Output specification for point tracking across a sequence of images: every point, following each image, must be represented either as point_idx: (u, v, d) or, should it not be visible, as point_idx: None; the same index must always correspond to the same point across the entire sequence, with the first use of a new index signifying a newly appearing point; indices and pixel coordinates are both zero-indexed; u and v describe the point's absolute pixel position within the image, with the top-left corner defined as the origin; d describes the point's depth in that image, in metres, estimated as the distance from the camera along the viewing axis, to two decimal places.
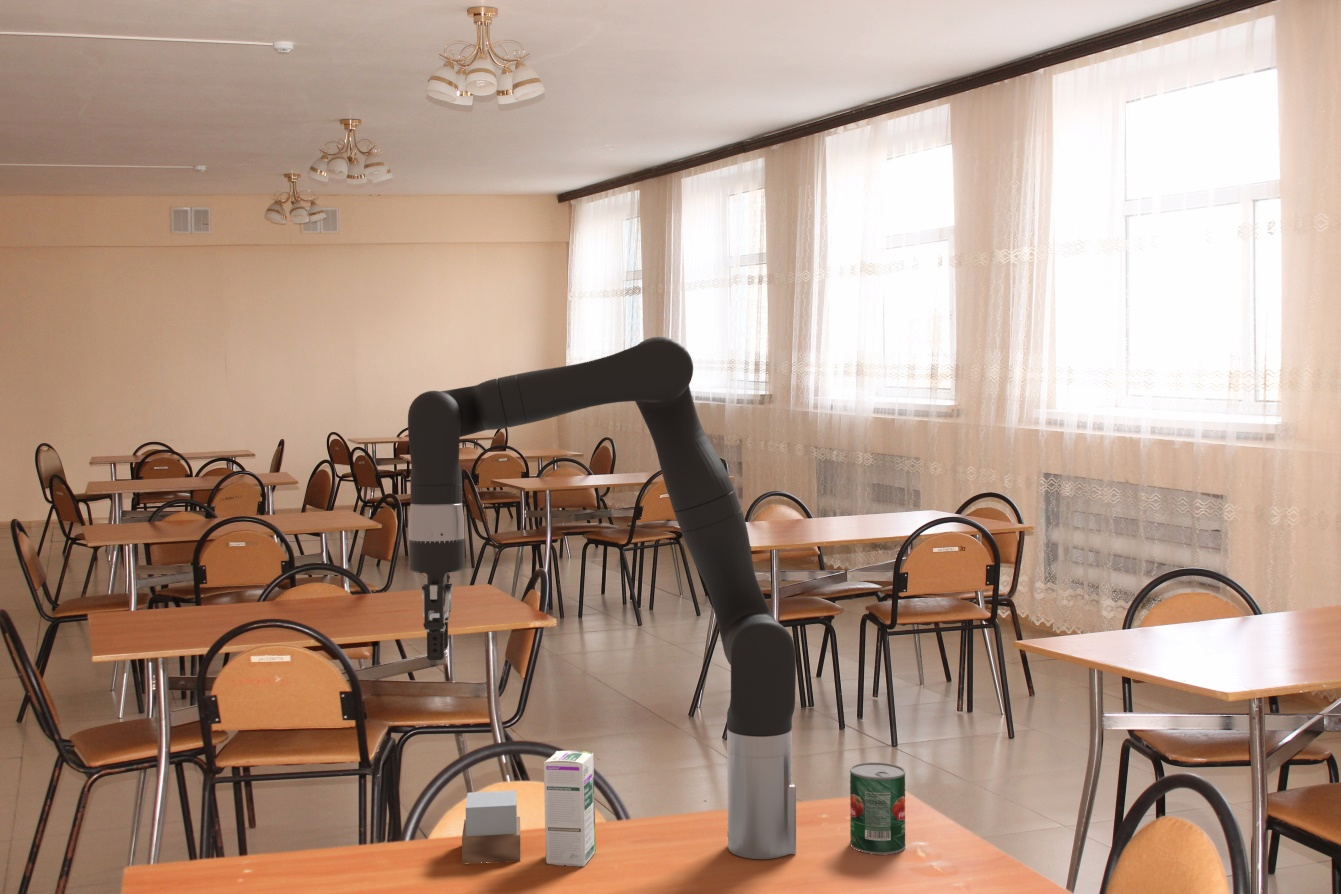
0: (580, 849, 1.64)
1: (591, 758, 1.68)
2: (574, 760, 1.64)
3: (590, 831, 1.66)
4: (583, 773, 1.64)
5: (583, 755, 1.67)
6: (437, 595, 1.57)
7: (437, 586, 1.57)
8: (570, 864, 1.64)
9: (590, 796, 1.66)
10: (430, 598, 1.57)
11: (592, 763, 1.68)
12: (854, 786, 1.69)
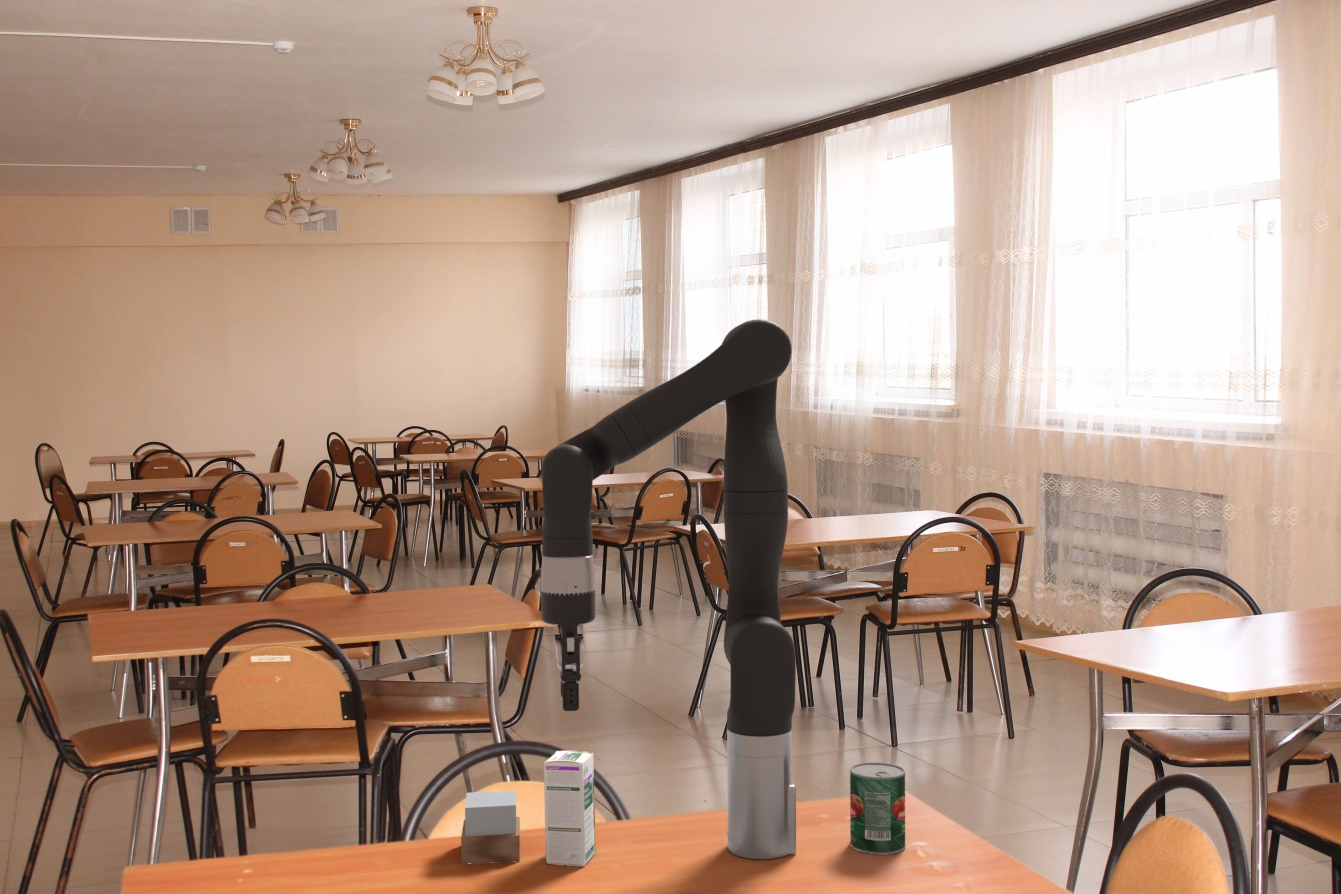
0: (580, 849, 1.64)
1: (591, 758, 1.68)
2: (574, 760, 1.64)
3: (590, 831, 1.66)
4: (583, 773, 1.64)
5: (583, 755, 1.67)
6: (574, 647, 1.60)
7: (574, 639, 1.60)
8: (570, 864, 1.64)
9: (590, 796, 1.66)
10: (567, 651, 1.59)
11: (592, 763, 1.68)
12: (854, 786, 1.69)
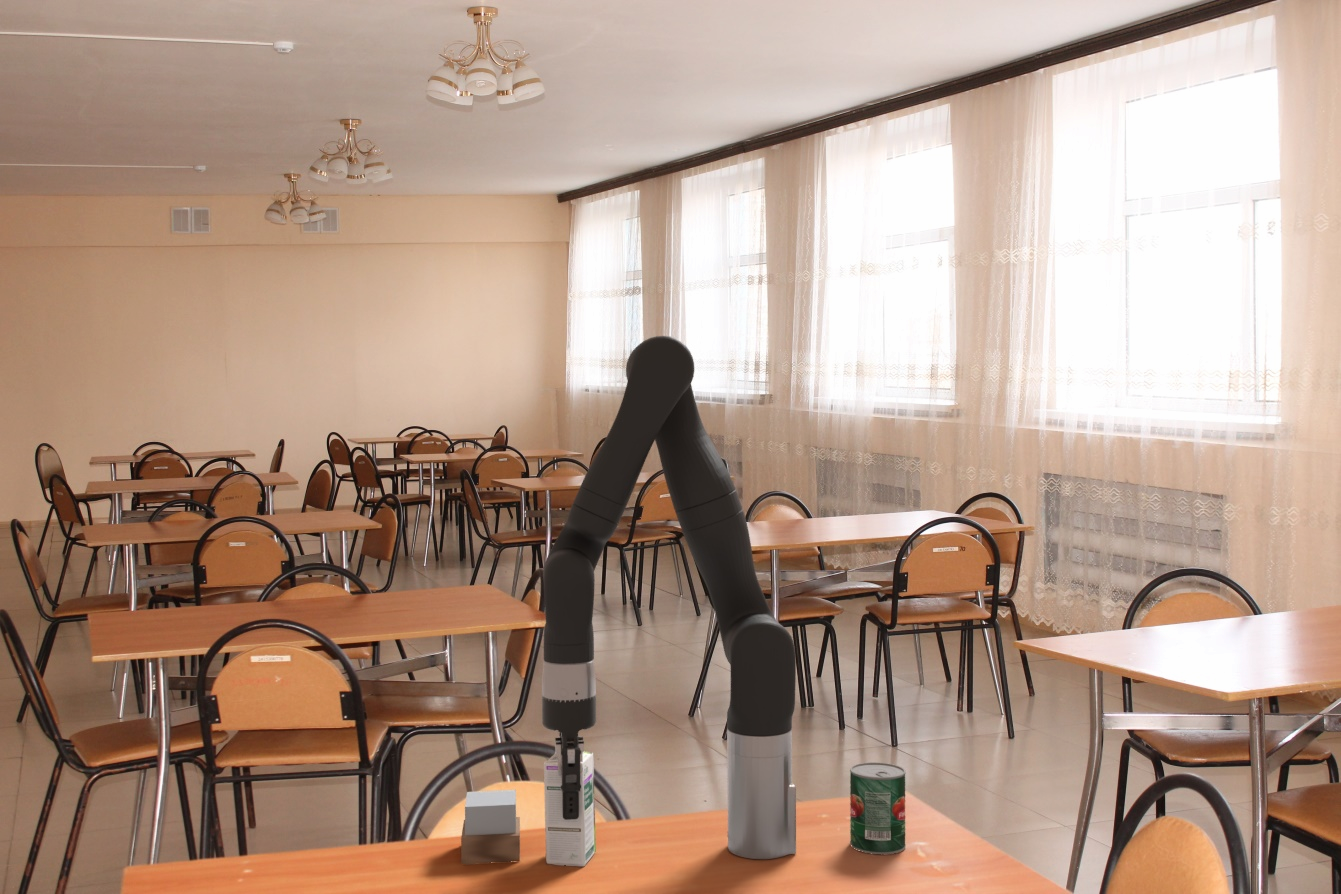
0: (580, 849, 1.64)
1: (591, 758, 1.68)
2: None
3: (590, 831, 1.66)
4: (584, 773, 1.64)
5: (583, 755, 1.67)
6: (575, 760, 1.60)
7: (574, 751, 1.60)
8: (570, 864, 1.64)
9: (590, 796, 1.66)
10: (568, 762, 1.60)
11: (592, 763, 1.68)
12: (854, 786, 1.69)
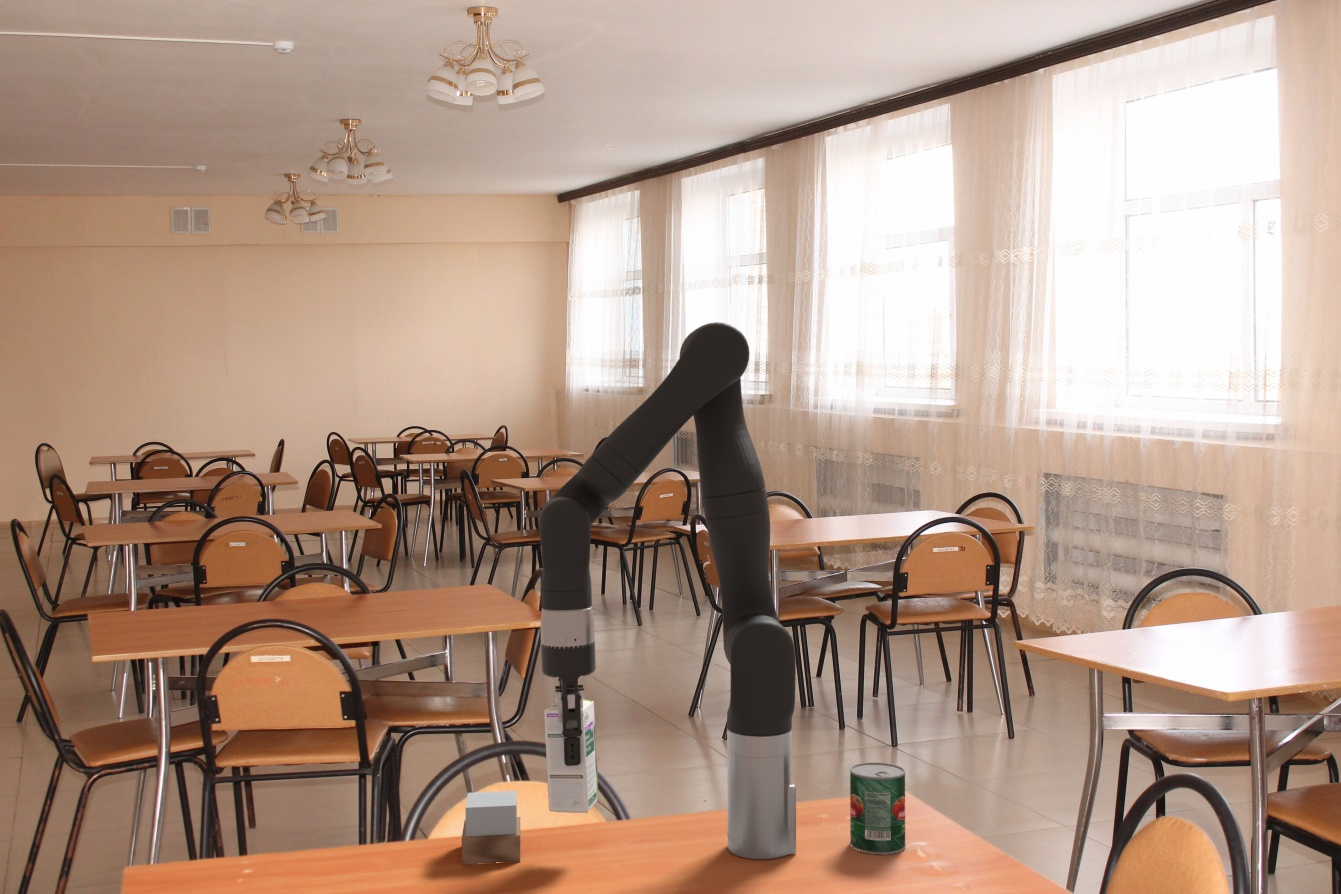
0: (583, 796, 1.63)
1: (591, 706, 1.67)
2: None
3: (592, 778, 1.66)
4: (584, 719, 1.64)
5: (583, 703, 1.67)
6: (575, 705, 1.60)
7: (574, 696, 1.60)
8: (573, 811, 1.64)
9: (591, 743, 1.66)
10: (568, 708, 1.60)
11: (593, 711, 1.68)
12: (854, 786, 1.69)
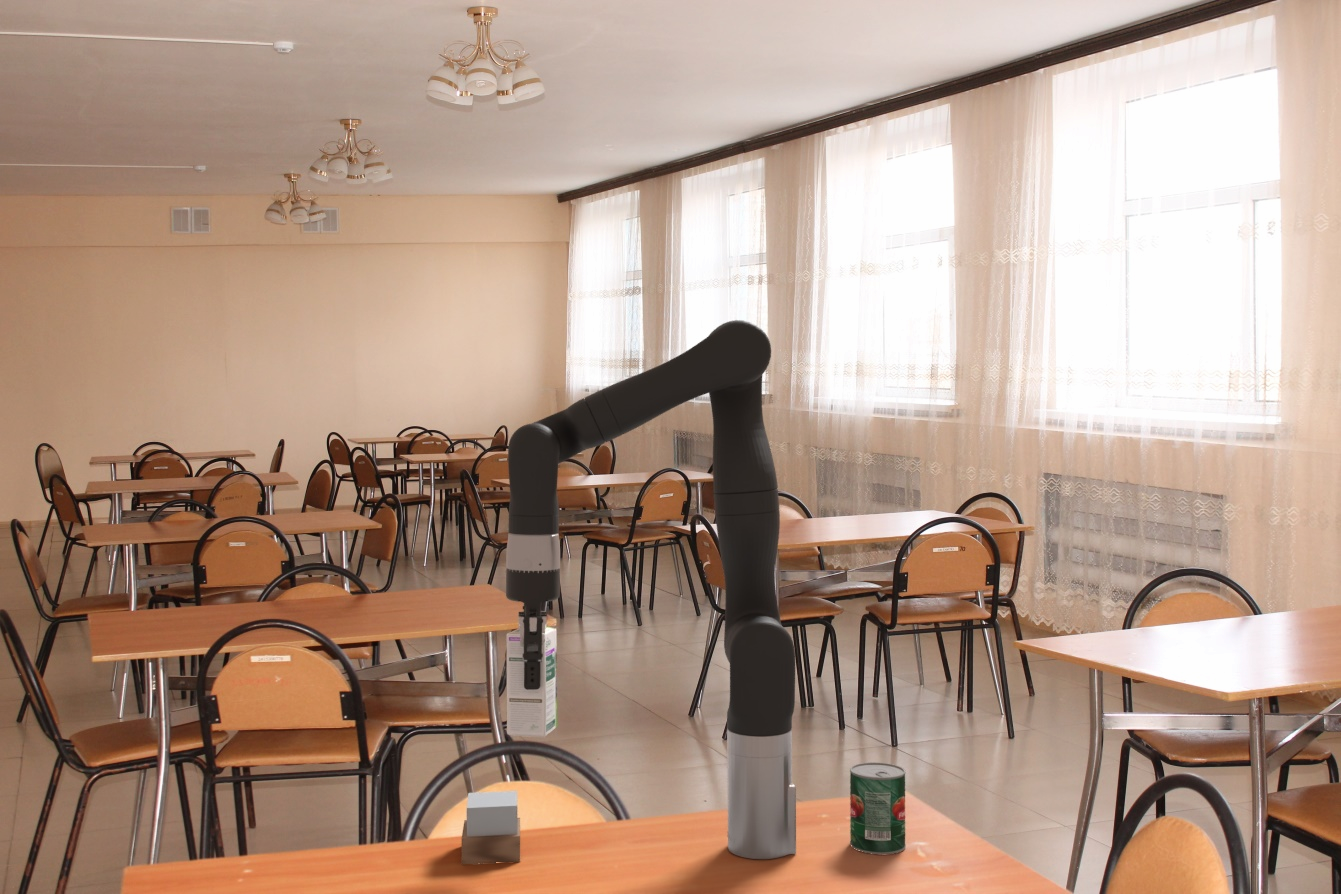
0: (541, 720, 1.64)
1: (554, 633, 1.68)
2: None
3: (551, 704, 1.67)
4: (546, 644, 1.65)
5: (546, 629, 1.67)
6: (536, 628, 1.61)
7: (536, 619, 1.61)
8: (531, 735, 1.65)
9: (552, 670, 1.67)
10: (530, 630, 1.61)
11: (555, 638, 1.69)
12: (854, 786, 1.69)
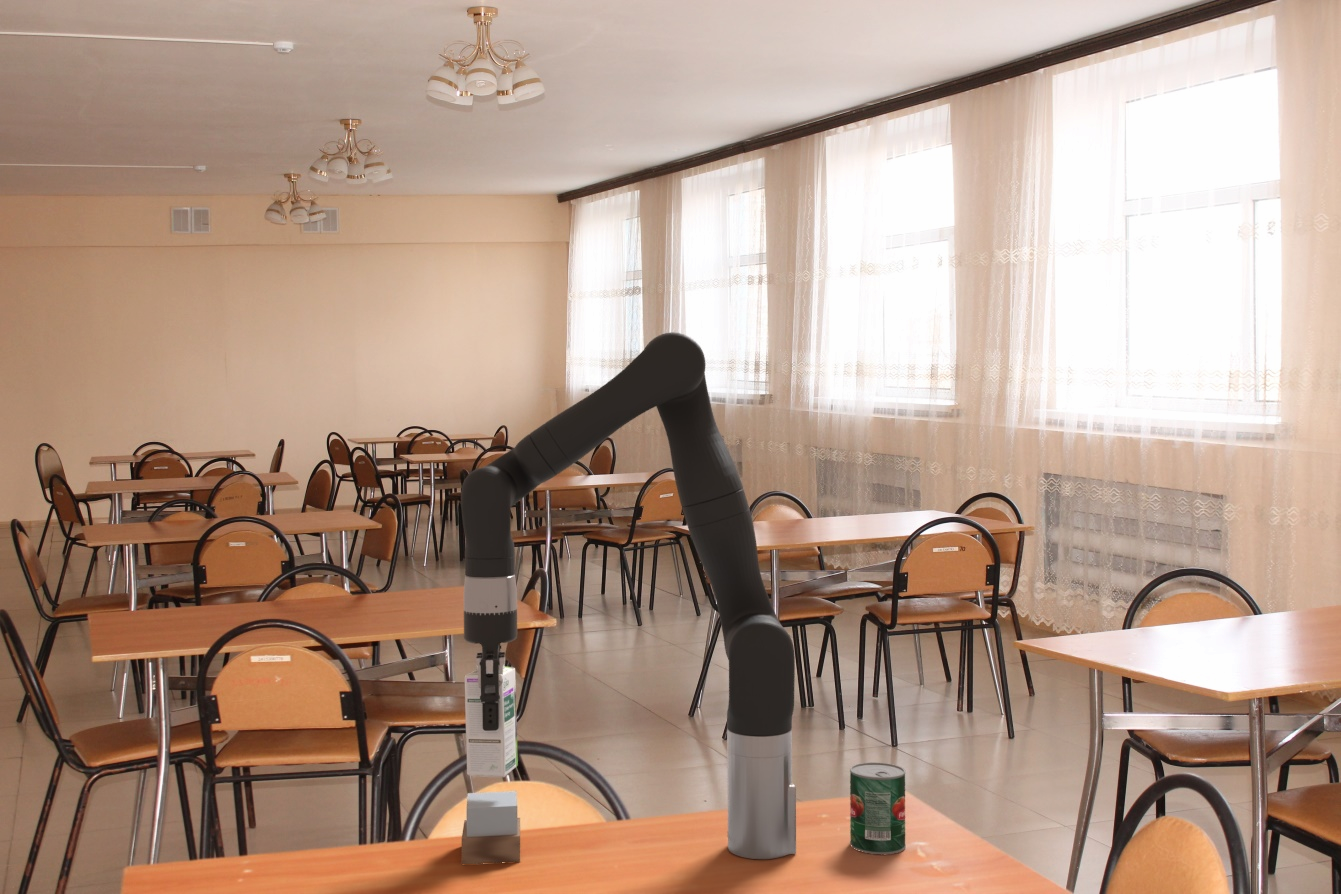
0: (500, 760, 1.66)
1: (512, 672, 1.70)
2: None
3: (511, 744, 1.68)
4: (503, 685, 1.66)
5: (504, 669, 1.69)
6: (493, 670, 1.62)
7: (493, 661, 1.62)
8: (490, 775, 1.66)
9: (511, 710, 1.69)
10: (486, 673, 1.62)
11: (514, 678, 1.71)
12: (854, 786, 1.69)
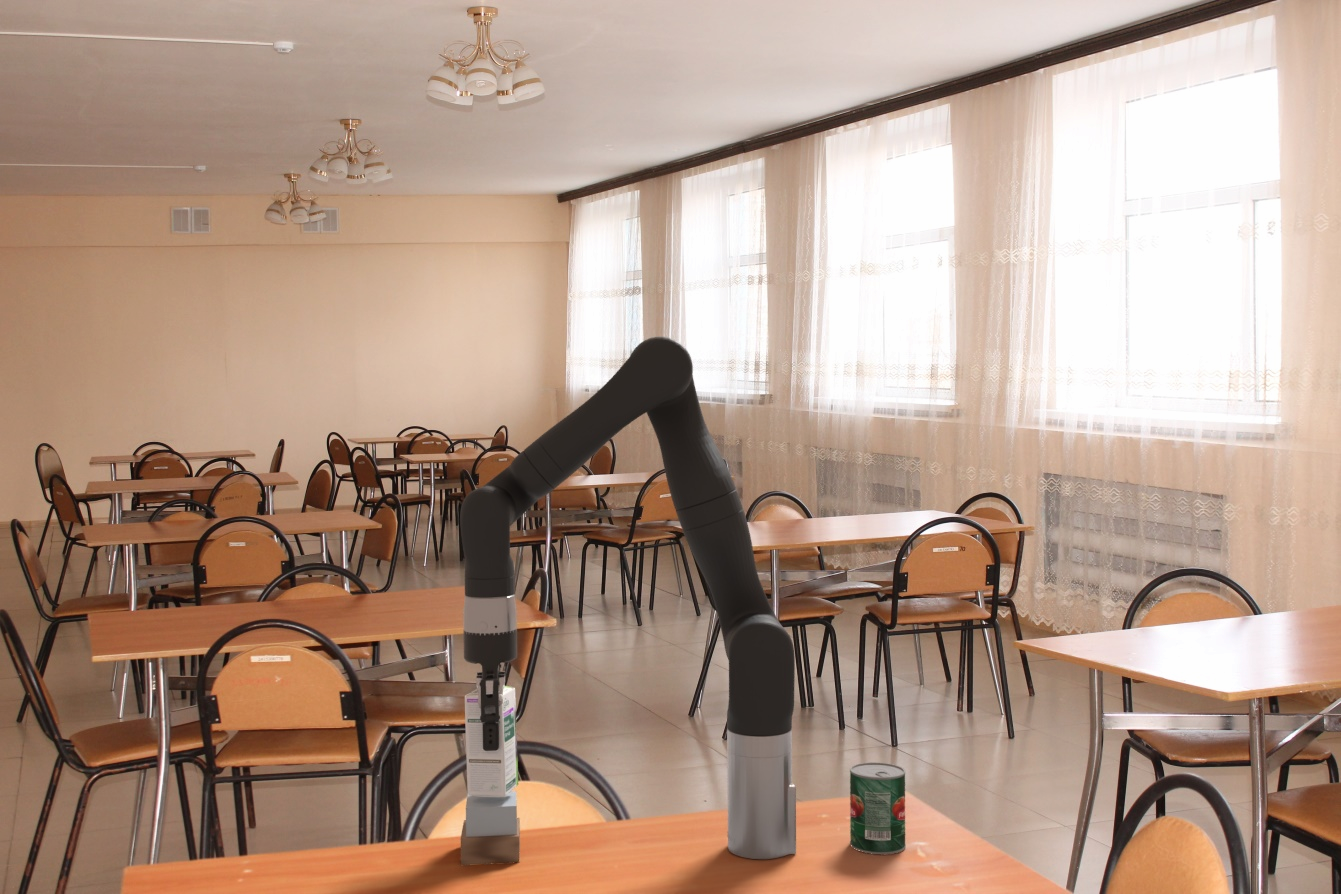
0: (500, 780, 1.66)
1: (512, 692, 1.70)
2: None
3: (511, 763, 1.69)
4: (503, 705, 1.66)
5: (504, 689, 1.69)
6: (493, 691, 1.62)
7: (493, 682, 1.63)
8: (491, 795, 1.66)
9: (511, 729, 1.69)
10: (486, 693, 1.62)
11: (514, 697, 1.71)
12: (854, 786, 1.69)
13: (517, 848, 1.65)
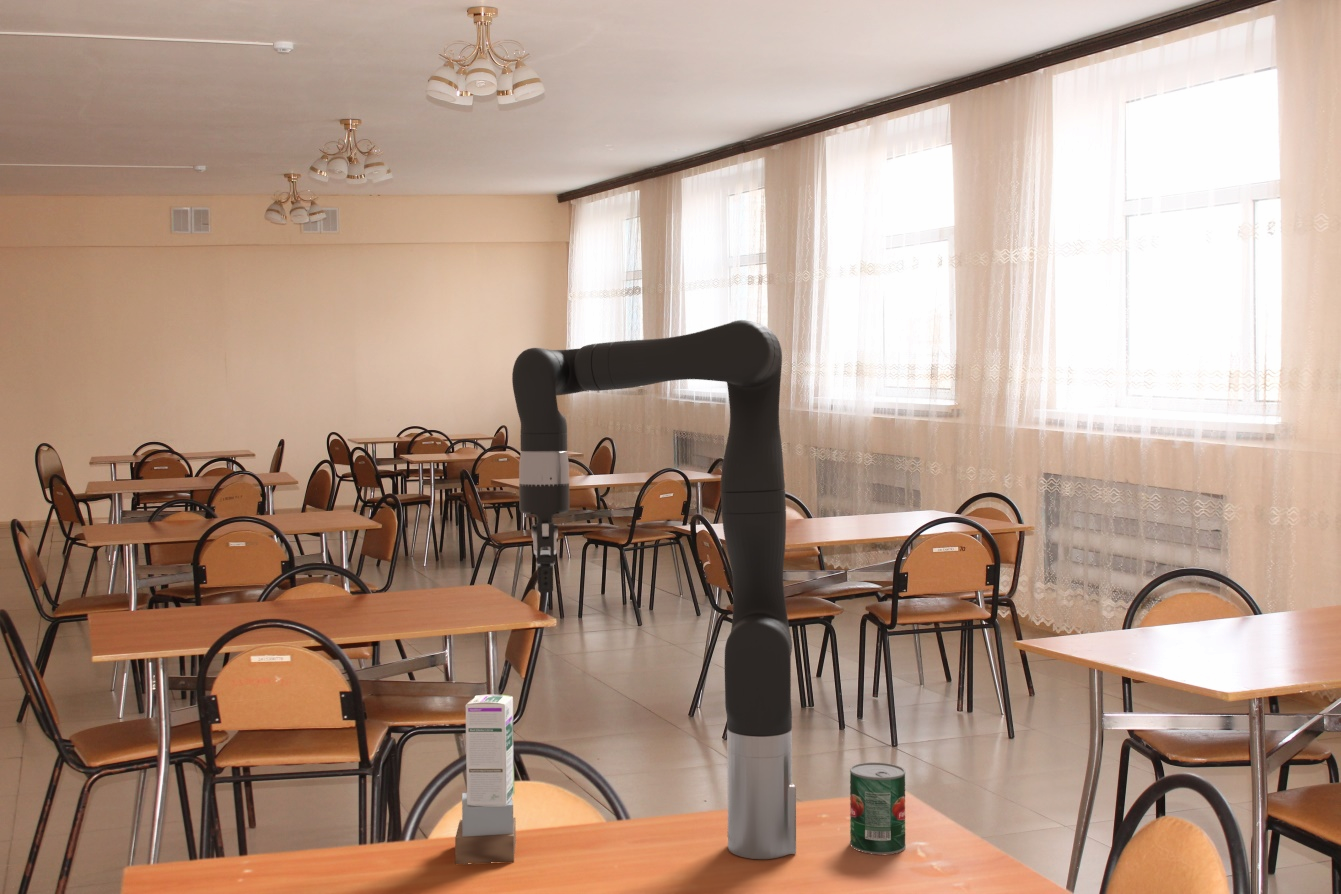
0: (502, 789, 1.65)
1: (511, 701, 1.70)
2: (496, 701, 1.66)
3: (510, 772, 1.68)
4: (505, 714, 1.66)
5: (504, 698, 1.69)
6: (548, 532, 1.73)
7: (548, 524, 1.73)
8: (491, 805, 1.66)
9: (510, 738, 1.68)
10: (542, 535, 1.73)
11: (512, 706, 1.70)
12: (854, 786, 1.69)
13: (512, 848, 1.65)
